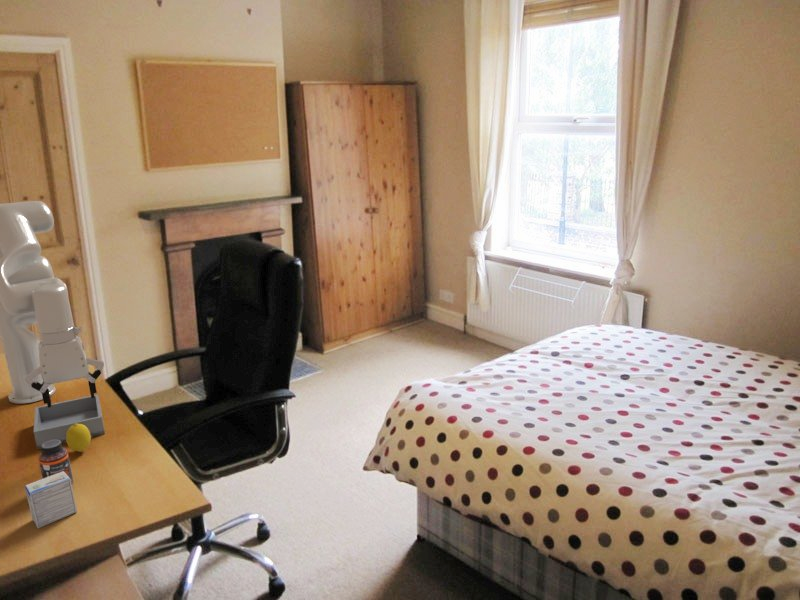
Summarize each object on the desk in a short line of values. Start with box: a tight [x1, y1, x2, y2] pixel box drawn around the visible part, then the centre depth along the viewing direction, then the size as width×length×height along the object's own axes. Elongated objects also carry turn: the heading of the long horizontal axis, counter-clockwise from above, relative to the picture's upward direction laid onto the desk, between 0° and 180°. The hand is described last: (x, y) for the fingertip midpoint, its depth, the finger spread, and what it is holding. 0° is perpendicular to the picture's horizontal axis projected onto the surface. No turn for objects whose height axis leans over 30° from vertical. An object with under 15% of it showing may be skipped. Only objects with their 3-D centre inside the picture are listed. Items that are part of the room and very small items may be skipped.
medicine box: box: [24, 471, 78, 529], centre depth 136 cm, size 8×4×9 cm, turn 133°
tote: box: [33, 393, 106, 450], centre depth 174 cm, size 16×16×5 cm
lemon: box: [66, 423, 92, 453], centre depth 161 cm, size 6×6×8 cm
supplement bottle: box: [38, 440, 74, 486], centre depth 146 cm, size 6×6×11 cm
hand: (71, 400), depth 158 cm, fingers open, 9 cm apart
